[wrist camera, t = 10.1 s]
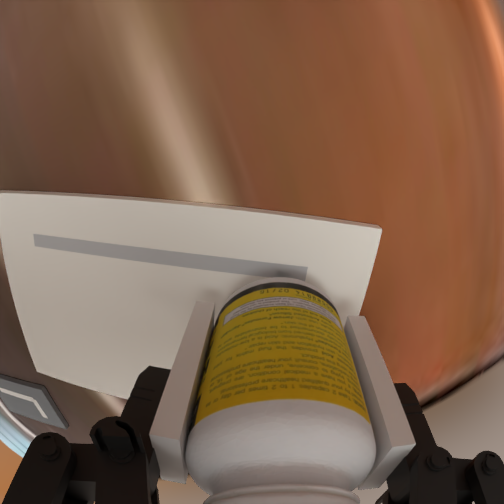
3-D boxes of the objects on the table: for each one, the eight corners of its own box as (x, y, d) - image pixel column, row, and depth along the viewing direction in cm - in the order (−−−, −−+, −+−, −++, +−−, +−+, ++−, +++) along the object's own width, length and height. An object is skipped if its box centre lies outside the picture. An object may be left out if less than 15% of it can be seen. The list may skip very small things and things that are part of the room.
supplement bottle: (197, 290, 13) (116, 519, 4) (327, 258, 12) (413, 501, 3) (237, 381, 15) (216, 570, 6) (345, 358, 14) (391, 552, 5)
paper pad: (40, 366, 19) (36, 371, 18) (1, 190, 14) (-6, 192, 13) (317, 417, 19) (318, 424, 18) (378, 225, 14) (382, 229, 13)
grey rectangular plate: (11, 407, 22) (9, 410, 21) (-12, 370, 20) (-15, 373, 19) (68, 425, 21) (66, 429, 21) (44, 385, 19) (41, 390, 19)
